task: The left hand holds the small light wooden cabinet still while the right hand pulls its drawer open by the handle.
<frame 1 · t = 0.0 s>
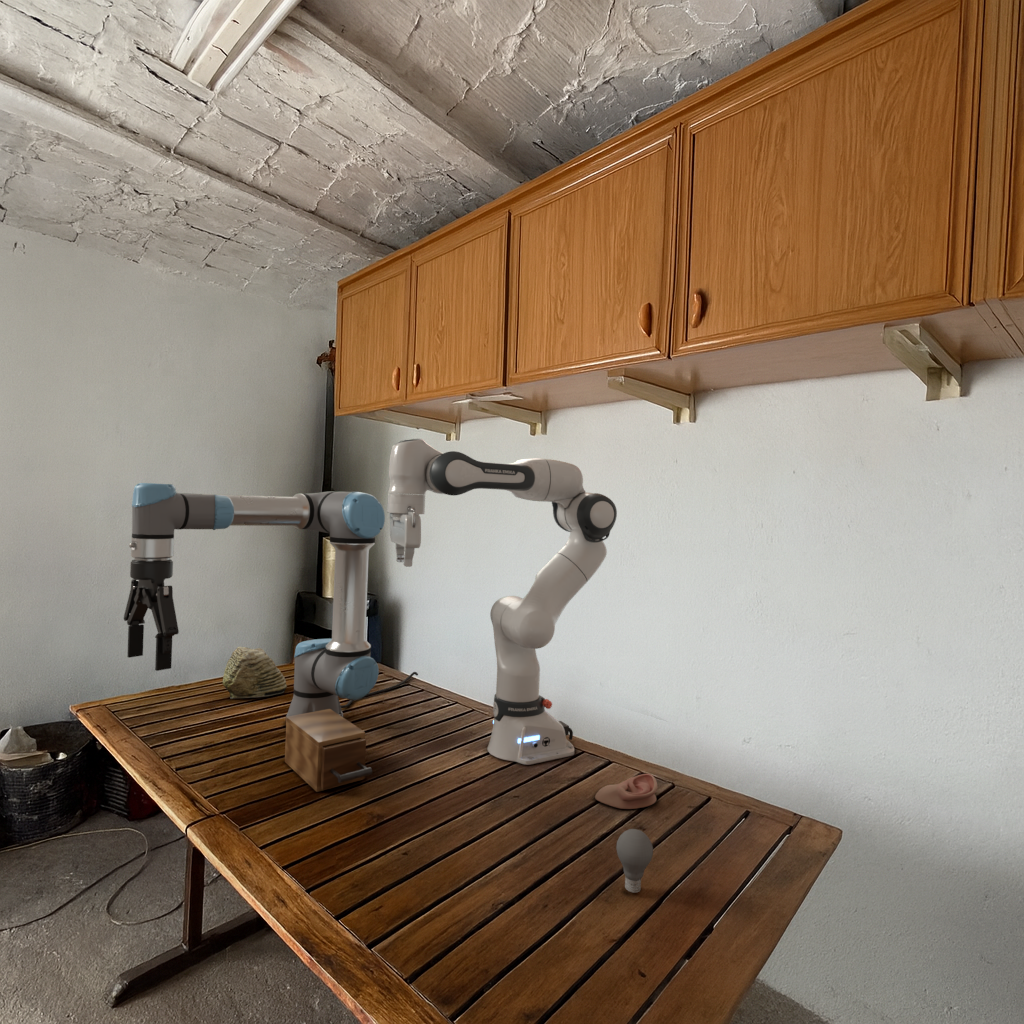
left hand: (148, 662, 129), 28 cm above the table, tool pointing down, fingers open, 13 cm apart
right hand: (403, 564, 151), 48 cm above the table, tool pointing down, fingers open, 8 cm apart
cabinet: (322, 770, 146), on the table
drawer: (333, 755, 142), point 5 cm above the table, slide at 0.6 cm
light bulb: (632, 891, 106), on the table
anatomical model: (626, 798, 139), on the table
fossil: (254, 694, 198), on the table
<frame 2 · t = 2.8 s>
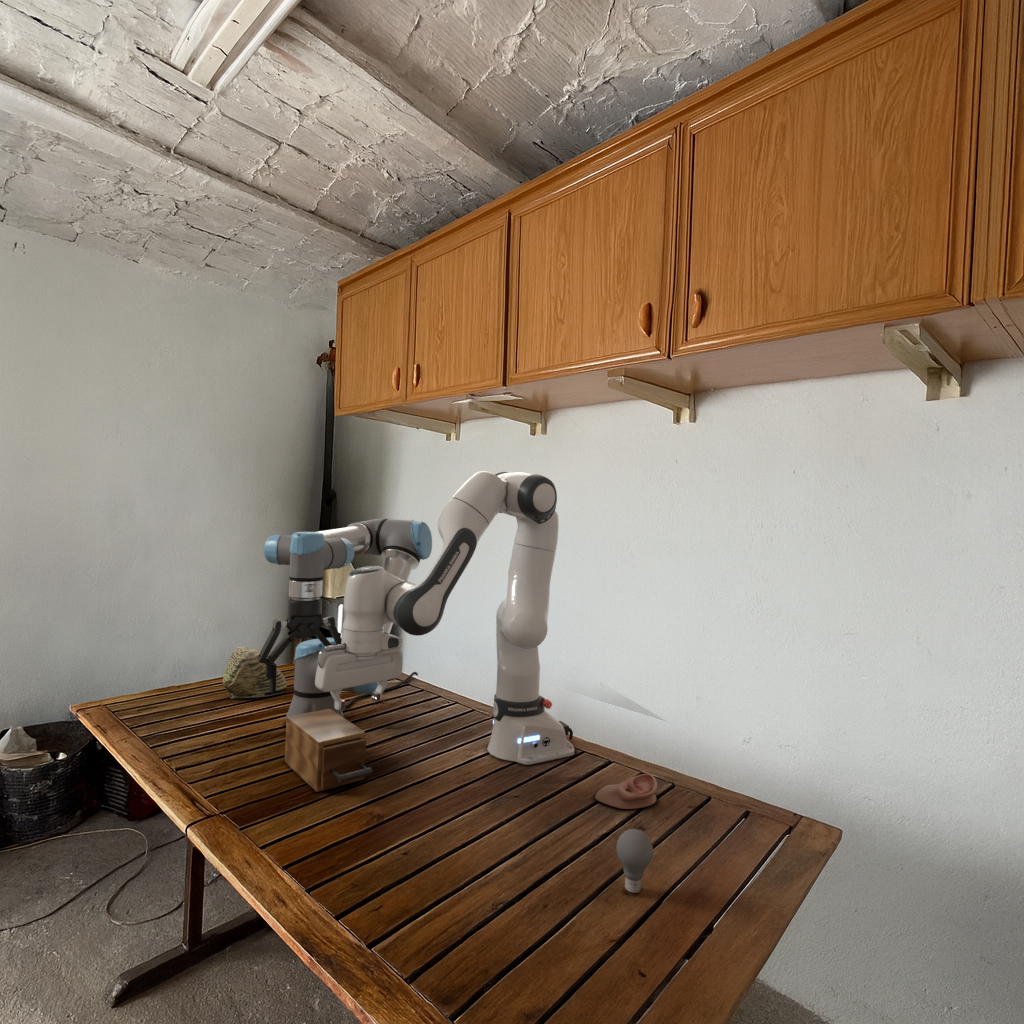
left hand: (302, 688, 149), 18 cm above the table, tool pointing down, fingers open, 13 cm apart
right hand: (358, 704, 137), 19 cm above the table, tool pointing down, fingers open, 8 cm apart
nothing on the table moved.
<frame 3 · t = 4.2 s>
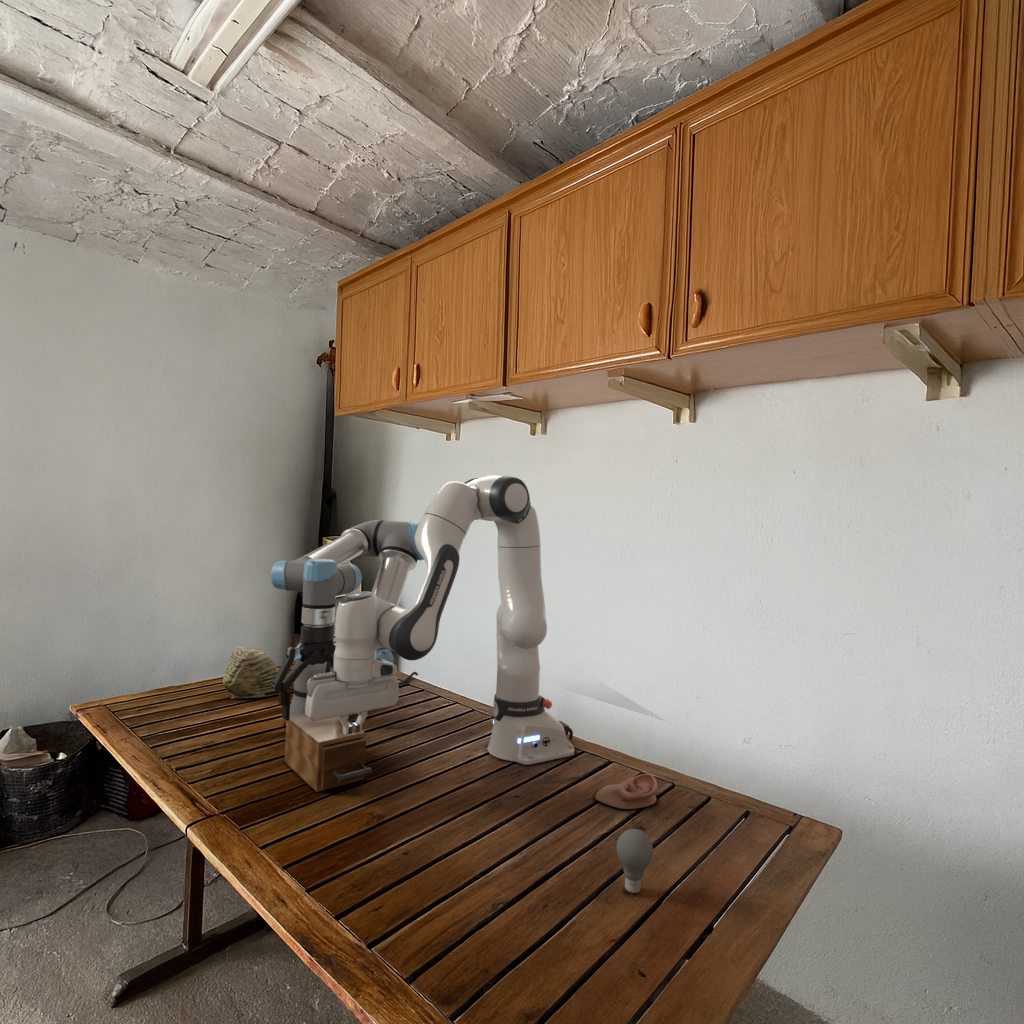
left hand: (314, 713, 150), 12 cm above the table, tool pointing down, fingers open, 13 cm apart
right hand: (352, 732, 135), 13 cm above the table, tool pointing down, fingers closed
nothing on the table moved.
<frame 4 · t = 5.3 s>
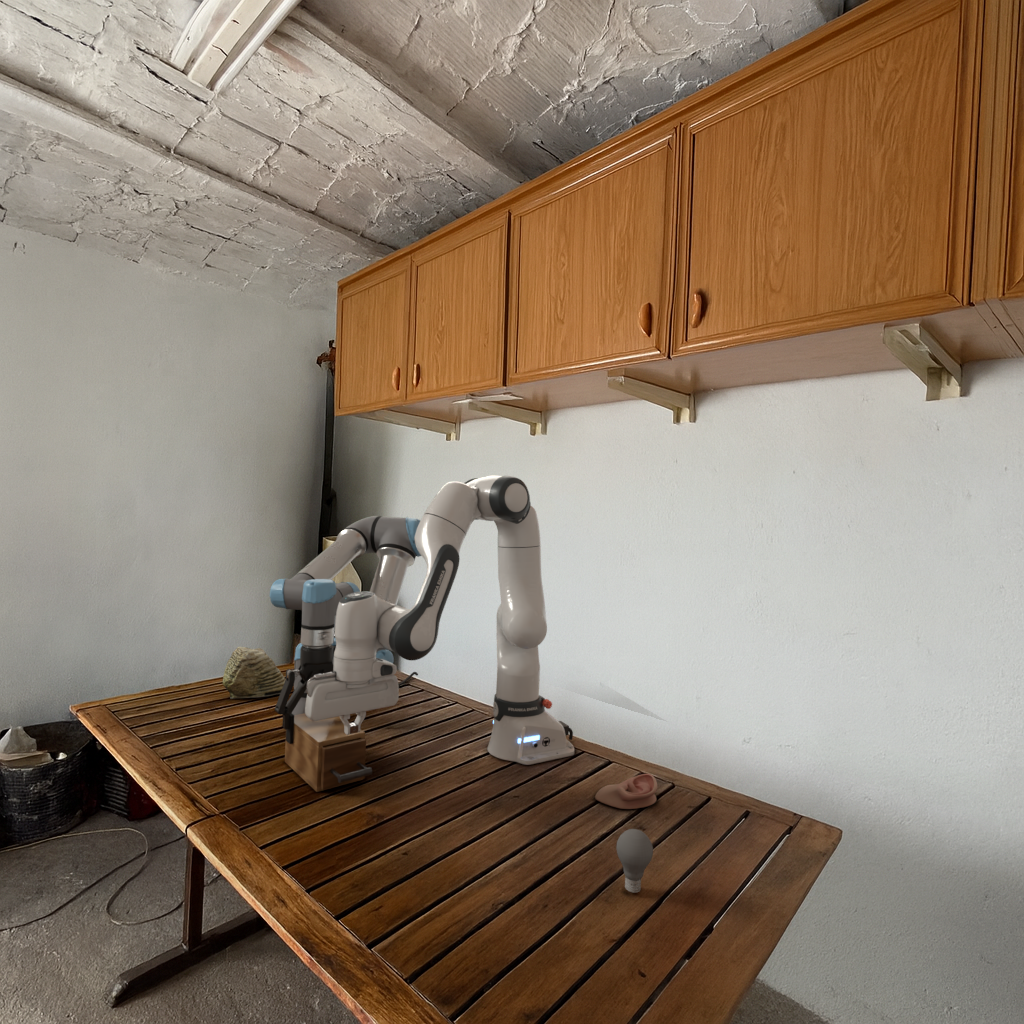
left hand: (313, 736, 151), 6 cm above the table, tool pointing down, fingers closed on cabinet, 11 cm apart
right hand: (352, 732, 135), 13 cm above the table, tool pointing down, fingers closed
cabinet: (322, 770, 146), on the table, touching left hand
everything else where it was.
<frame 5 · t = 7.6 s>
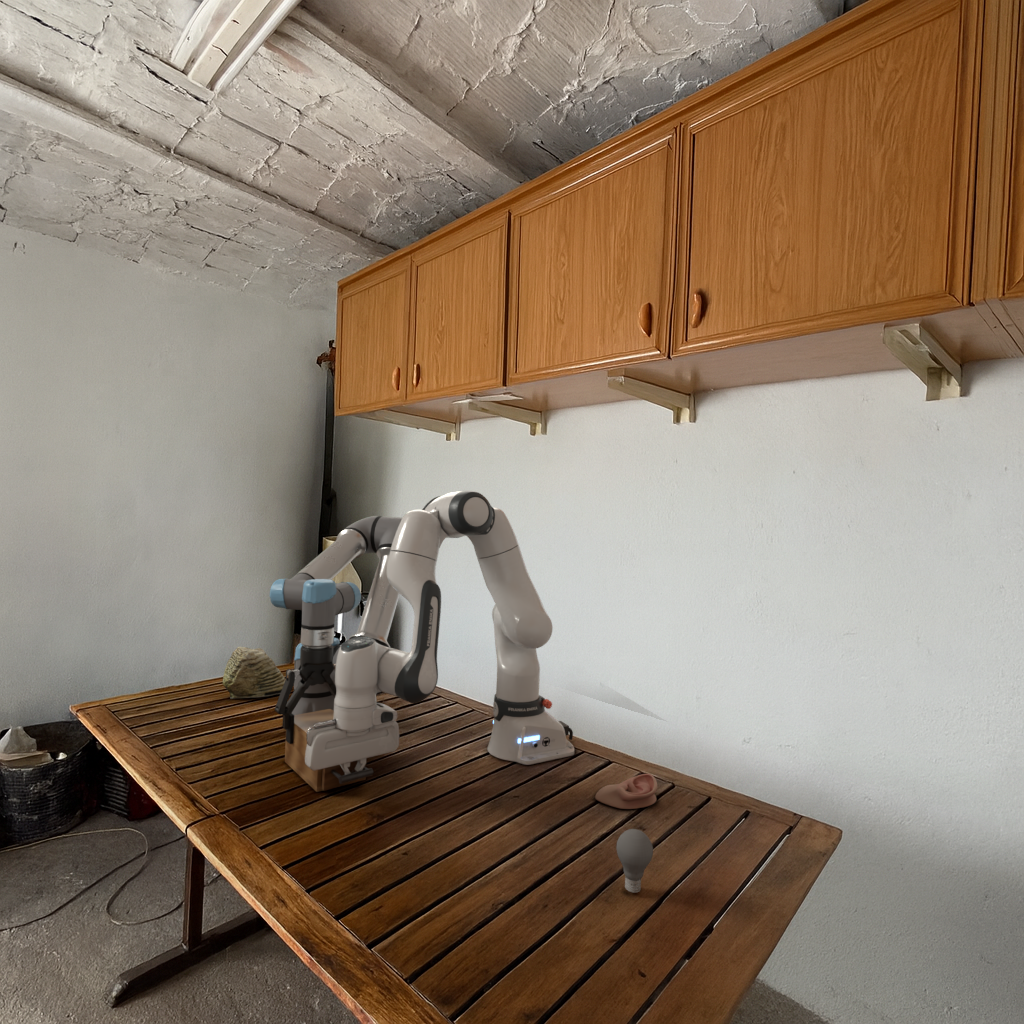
left hand: (313, 736, 151), 6 cm above the table, tool pointing down, fingers closed on cabinet, 11 cm apart
right hand: (352, 779, 135), 3 cm above the table, tool pointing down, fingers closed, pressing on drawer
cabinet: (322, 770, 146), on the table, touching left hand
drawer: (334, 756, 142), point 5 cm above the table, slide at 1.1 cm, touching right hand
everything else where it was.
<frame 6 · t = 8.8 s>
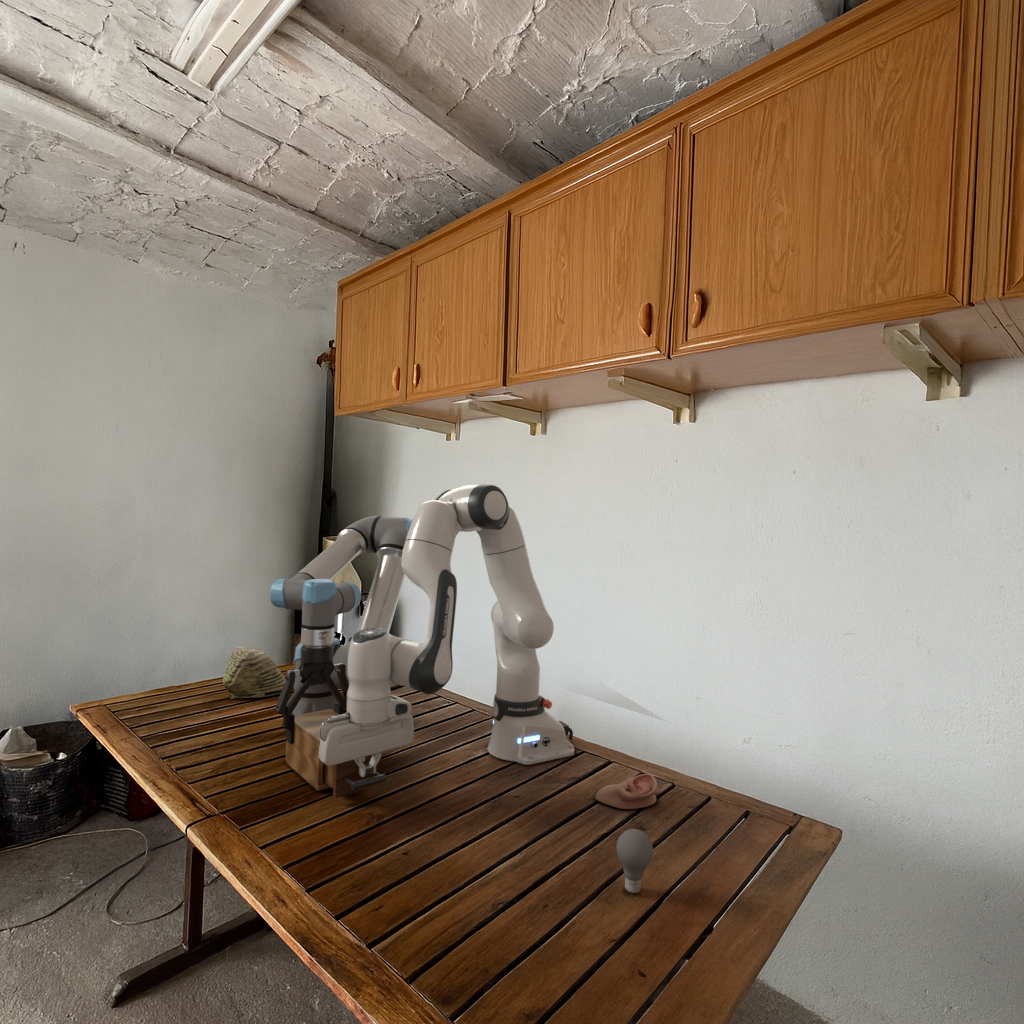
left hand: (314, 736, 151), 6 cm above the table, tool pointing down, fingers closed on cabinet, 11 cm apart
right hand: (367, 774, 131), 6 cm above the table, tool pointing down, fingers closed
cabinet: (323, 770, 146), on the table, touching left hand
drawer: (345, 762, 138), point 6 cm above the table, slide at 6.2 cm
everything else where it was.
when the left hand's fingers open (6 cm above the table, at t = 10.1 s): cabinet stays where it is, on the table.
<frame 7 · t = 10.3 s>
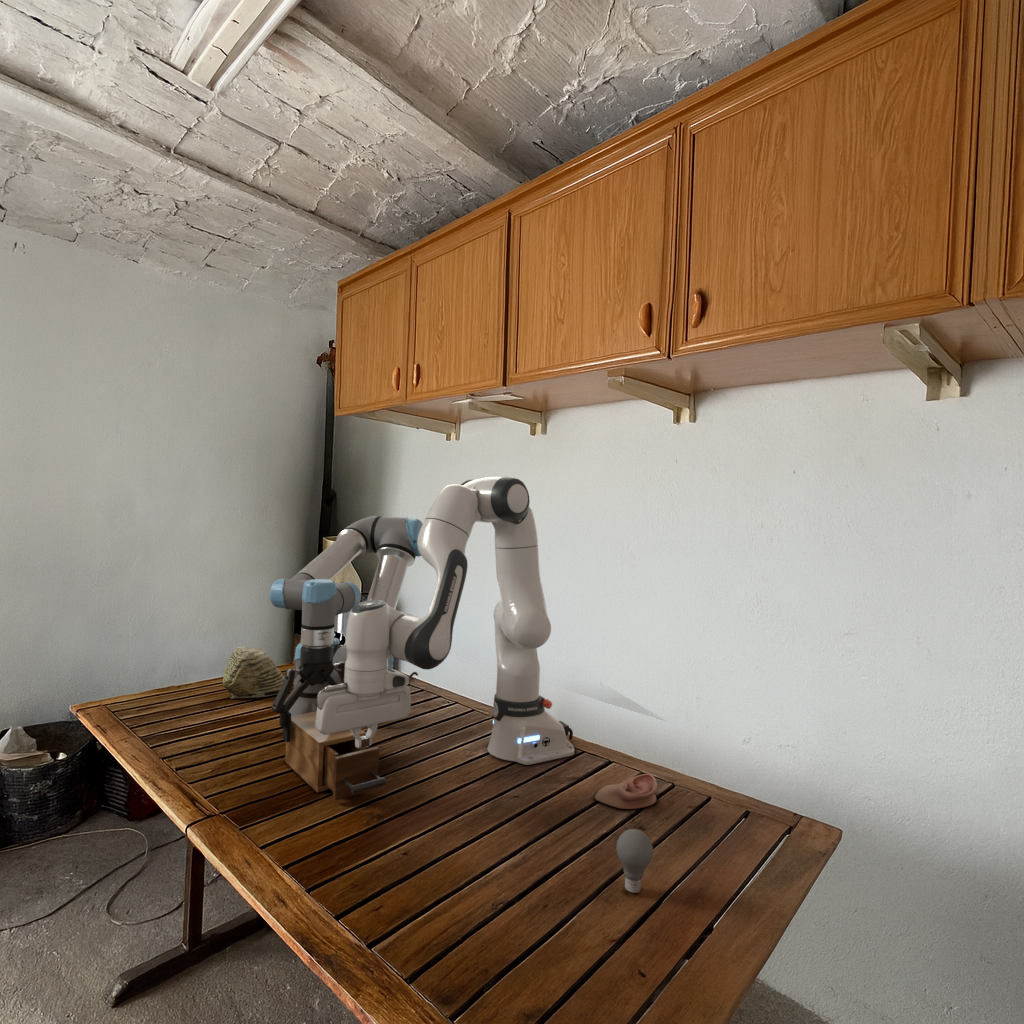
left hand: (313, 734, 151), 7 cm above the table, tool pointing down, fingers open, 12 cm apart
right hand: (363, 746, 131), 12 cm above the table, tool pointing down, fingers closed
cabinet: (323, 770, 146), on the table
everything else where it was.
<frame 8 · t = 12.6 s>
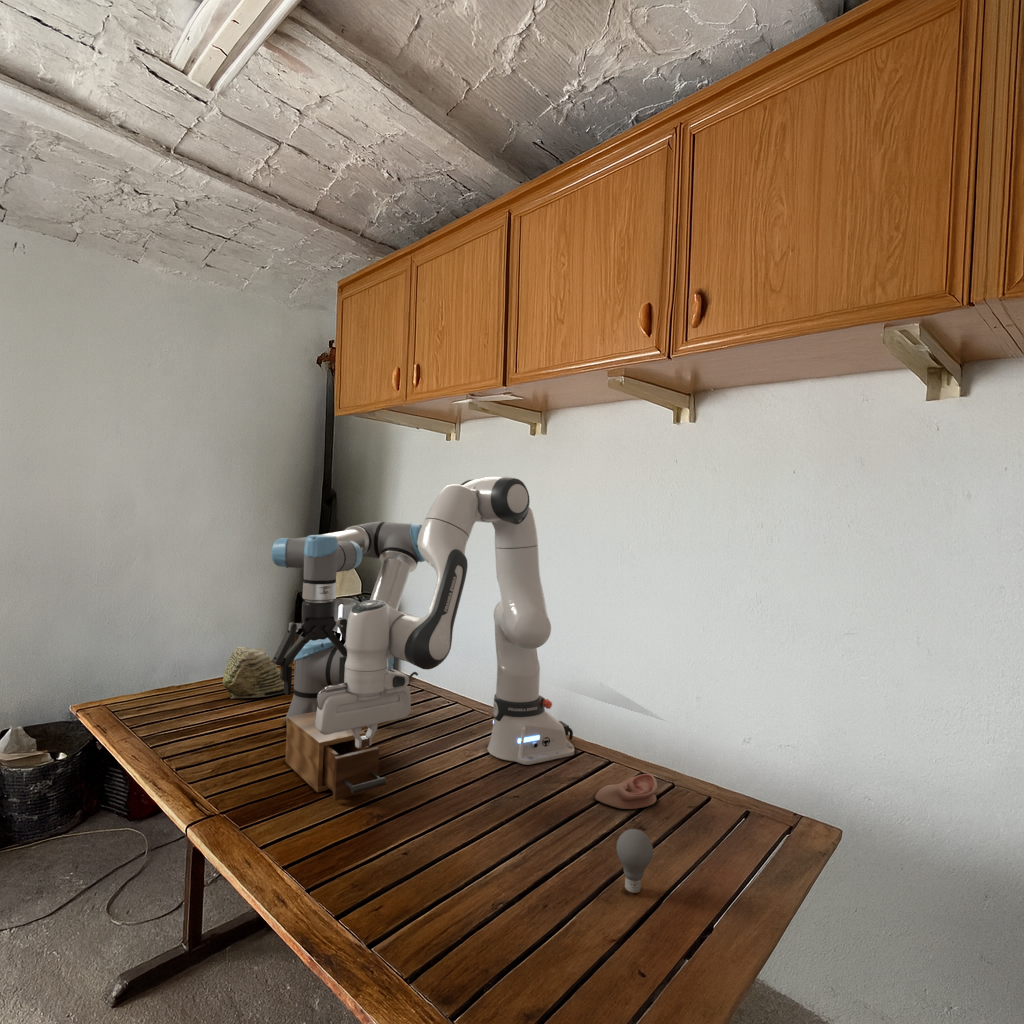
left hand: (315, 689, 151), 17 cm above the table, tool pointing down, fingers open, 13 cm apart
right hand: (363, 746, 131), 12 cm above the table, tool pointing down, fingers closed
nothing on the table moved.
at the end: drawer slide at 6.2 cm; cabinet tilted 0°; cabinet never tilted more than 2° during the clip; cabinet moved 0.3 cm from its start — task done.
